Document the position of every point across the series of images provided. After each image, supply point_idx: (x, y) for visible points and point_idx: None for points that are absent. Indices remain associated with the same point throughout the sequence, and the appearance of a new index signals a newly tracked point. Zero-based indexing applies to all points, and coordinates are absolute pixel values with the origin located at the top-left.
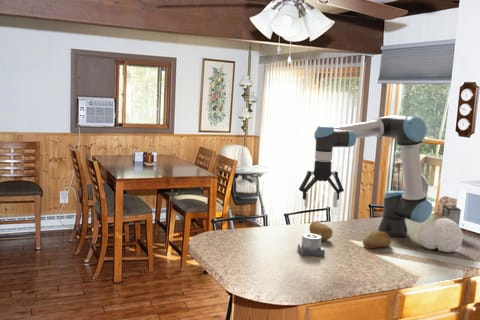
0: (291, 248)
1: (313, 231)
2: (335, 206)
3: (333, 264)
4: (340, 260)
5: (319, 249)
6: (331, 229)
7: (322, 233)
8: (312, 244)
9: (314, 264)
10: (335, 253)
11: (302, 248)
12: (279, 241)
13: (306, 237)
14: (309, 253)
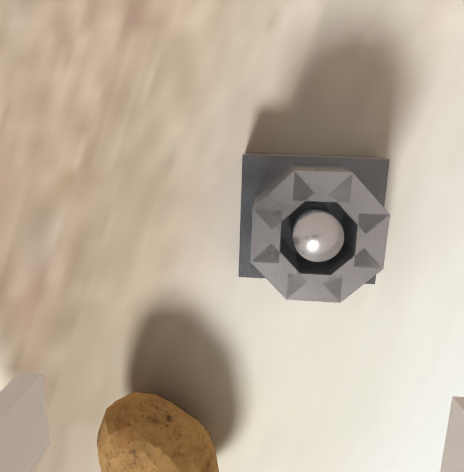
0: (392, 297)
1: (212, 456)
2: (28, 380)
3: (235, 16)
4: (169, 88)
5: (274, 168)
6: (101, 440)
7: (170, 413)
8: (330, 168)
9: (355, 15)
10: (160, 208)
11: (381, 190)
12: (418, 412)
13: (376, 205)
14: (340, 156)
